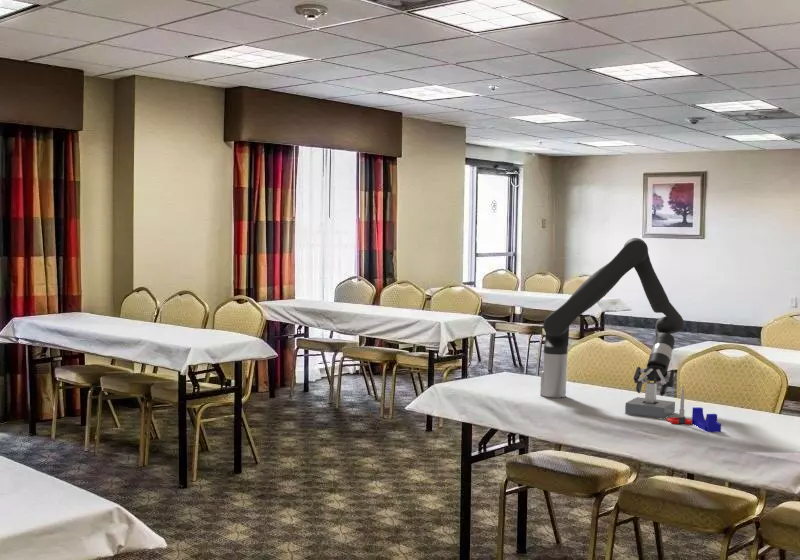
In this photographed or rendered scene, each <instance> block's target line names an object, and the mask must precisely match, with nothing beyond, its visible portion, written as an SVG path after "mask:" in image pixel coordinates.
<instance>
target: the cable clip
mask: <svg viewBox="0 0 800 560" xmlns="http://www.w3.org/2000/svg"><path fill="white" fill-rule="evenodd" d="M691 412H692V413H691V414H692V417H691V420H692V425H693V424H694V426H695V425H696V426H695V427H697V426H698V427H697V428H699V429H701V430H703V431H705V432H706V433H722V423H721V422H718V414H716V413H706V416H705V417H704V408H703V407H695V406H694V407H692V411H691Z"/></svg>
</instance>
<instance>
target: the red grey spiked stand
mask: <svg viewBox="0 0 800 560" xmlns="http://www.w3.org/2000/svg"><path fill="white" fill-rule="evenodd" d="M679 405H680V408H679V413H678V414H679V416H675V417H673V416H671V417H670V416H668V417H667V418H666V421H667V422H669V423H670V424H672V425H681V424H686V425H687V426H689V425H690V426H692V425H693V424H692V418H686V417H685V409H684V408H685V387H684V386H682V387H681V393H680V404H679ZM686 425H685V426H686Z"/></svg>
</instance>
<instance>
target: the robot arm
mask: <svg viewBox="0 0 800 560" xmlns="http://www.w3.org/2000/svg"><path fill="white" fill-rule="evenodd" d="M632 269H634V270H635V272H636V274H637V275H638V277H639V280H640V283H641V285H642V288H643V291H644V295H645V296H646V298H647V301H648V302H649V306H650V307H651V309H652V311H653V313H657V314H663V315H664V316H661V317H660V318H657V320H656V322H655V325H654V329H655V330H654V331H655V340H654V343H653V346H652V349H650V350H651V351H650V353H649V357H648V361H647V363H646V367H645V368H641V367H640V366H637V367H636V369H635V372H634V376H633V378H632V379H633V381H634V384H636V386H635V390H636V392H637V393H638V394H640V393H641V392H642V387H643V385H644V384H646V383H648V382H649V381H650V382H655V383H659V382H660V383H661V387H660V390H659V395H660V397H661V396H662V397H663V396H664V395H665V394H666V392H667V388H673V387H674V385H675V384H674V383H675V379H676V378H675V377H676V372H675V370H673V369H672V370H671V371H668V369H669V367H670V363H671V360H672V357H673V356H672V355H673V350H674V346H675V342H676V339H675V337H674V335H672V334H675V333H679V332H682V331H683V329H684V327H685V321H684V319H683V317H682V315H681V314H680V313H679V311H678V310H677V309H676V308H675V307H674V306H673V304H672V303H671V302H670V300H669V297H668V295H667V293H666V291H665V289H664V287H663V285H662V282H661V281H660V279H659V278H658V275H657V273H656V272H655V269H654V267H653V264H652V261H651V258H650V255H649V248H648V245H647V242H645V241H644V240H643V239H641V238H638V237H634V238H630V239H628V240H627V241H626V242H625V243H624V245H623V247H622V249H621V250H620V251H619V252H618V253H617V254H616V255H615V256H614V257H613V258H612V259H611V260H610V261H609V262H608V263H606V264H605V265H603V266H601V268H599V269H598V270H597V271H595V272H594V273H593V274H591V275H590V276H589V277H588V278H587V279H586V280H585V281H584V282H582V284H581V285H580V286H579V287H578V288H577V289H576V290H575V291H574V292H573V293H572V294H571V296H569V298H568V299H567V300H566V302H565V303H564V304H562V305H560V306H559V307H558V308H557V309H556V310H554V311H553V312H552V313H550V314H548V315H547V316H546V317H545V318H544V321H543V324H542V326H543V330H544V332H545V337H544V338H545V339H544V345H543V361H542V362H543V365H542V371H541V372H540V389H539V390H540V392H539V393H540V396H543V397H545V398H551V399H552V398H554V399H555V398H557V399H558V398H559V399H560V398H561V397H562V398H566V397H565V396H567V394H566V393H567V392H566V391H567V369H568V368H567V367H568V346H569V338H570V326H571V325H572V323H573V322H574V321H575V320H576V319H577V318H579V316H580V315H582V314H583V313H585V312H586V311H588V310H589V309H591V308H592V307H593V306H595V304H597V303H599V302H600V300H602V299H603V298H604V297H605V296H606V295H607V294H608V293H609V292H610V291H611V290H612V289H613V288H614V287H615V286H616V285H617V284H618V282H620V280H621V279H622V278H623V277H624V275H626V274H627V273H628V272H630V271H631V270H632ZM667 376H668V381H666V379H665V378H666V377H667Z"/></svg>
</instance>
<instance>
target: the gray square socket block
mask: <svg viewBox="0 0 800 560" xmlns="http://www.w3.org/2000/svg"><path fill="white" fill-rule="evenodd" d="M674 412H675V413H676V401H670V400H664V399H663V400H662V399H656V404H649V403H645V397H639V396H638V397H635V398H632V399H631V400H628V401H627V402H625V408H624V414H626V415H630V414H631V415H632V416H637V415H639V416H640V417H645V416H646V417H645V418H652V417H655V419H660V418H662V419H661V420H665V419H667V418H668V417H670V416H671V414H672V413H673V414H675V413H674ZM673 414H672V415H673ZM669 415H670V416H669ZM639 416H638V417H639ZM667 416H668V417H667ZM666 417H667V418H666ZM664 418H665V419H664Z"/></svg>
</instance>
